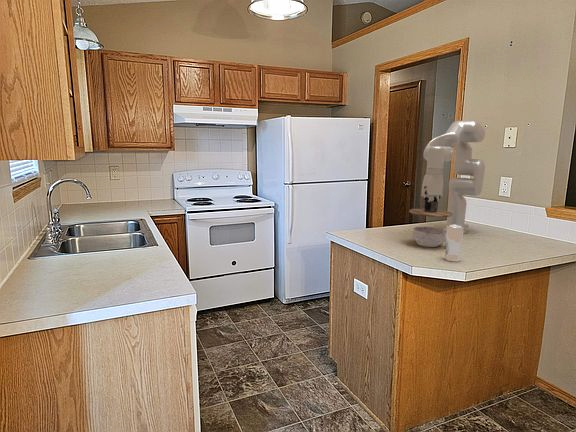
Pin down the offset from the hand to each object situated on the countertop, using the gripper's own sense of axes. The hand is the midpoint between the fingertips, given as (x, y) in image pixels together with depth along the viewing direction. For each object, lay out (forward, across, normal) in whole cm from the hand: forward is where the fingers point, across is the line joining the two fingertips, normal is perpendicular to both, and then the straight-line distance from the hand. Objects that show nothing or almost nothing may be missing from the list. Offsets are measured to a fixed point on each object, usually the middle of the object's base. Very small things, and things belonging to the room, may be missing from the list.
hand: (430, 209), depth 189 cm
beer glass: (+18, +10, +23) cm, 31 cm away
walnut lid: (+2, 0, 0) cm, 2 cm away
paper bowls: (+18, 0, 0) cm, 18 cm away
